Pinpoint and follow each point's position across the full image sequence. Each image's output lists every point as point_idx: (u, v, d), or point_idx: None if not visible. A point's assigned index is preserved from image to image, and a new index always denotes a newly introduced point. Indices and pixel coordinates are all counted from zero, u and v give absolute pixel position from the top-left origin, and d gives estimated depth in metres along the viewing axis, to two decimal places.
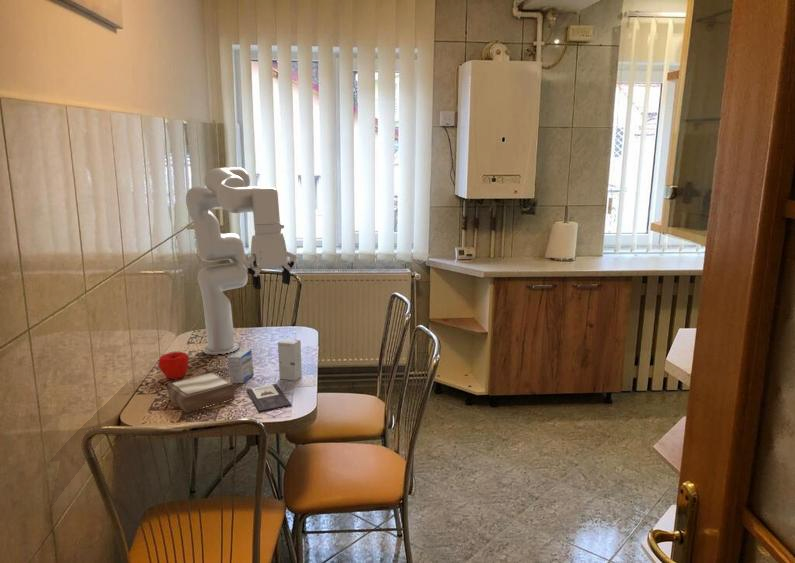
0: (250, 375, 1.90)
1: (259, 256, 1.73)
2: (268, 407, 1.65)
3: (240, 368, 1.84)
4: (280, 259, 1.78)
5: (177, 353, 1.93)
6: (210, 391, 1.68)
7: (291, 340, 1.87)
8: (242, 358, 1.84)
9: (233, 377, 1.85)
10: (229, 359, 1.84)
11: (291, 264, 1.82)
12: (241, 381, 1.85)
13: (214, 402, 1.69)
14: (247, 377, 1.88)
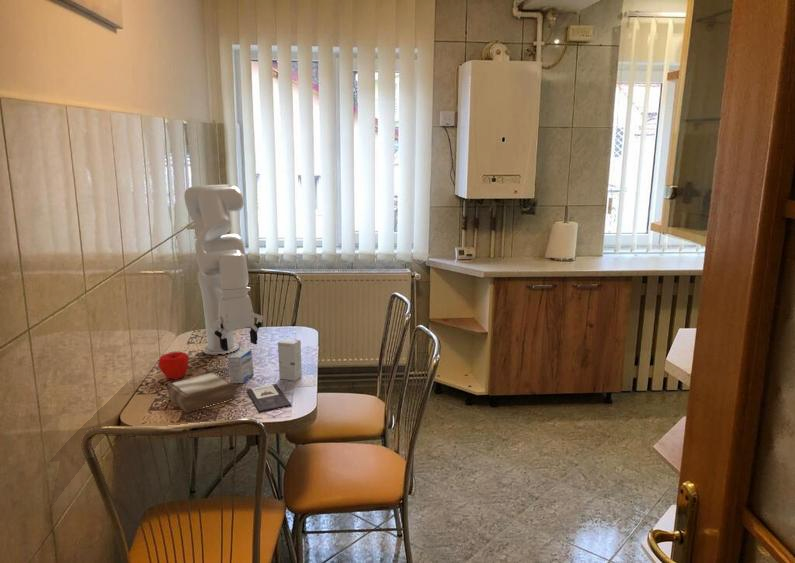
0: (250, 375, 1.90)
1: (226, 319, 1.80)
2: (268, 407, 1.65)
3: (240, 368, 1.84)
4: (247, 321, 1.84)
5: (177, 353, 1.93)
6: (210, 391, 1.68)
7: (291, 340, 1.87)
8: (242, 358, 1.84)
9: (233, 377, 1.85)
10: (229, 359, 1.84)
11: (258, 325, 1.89)
12: (241, 381, 1.85)
13: (214, 402, 1.69)
14: (247, 377, 1.88)
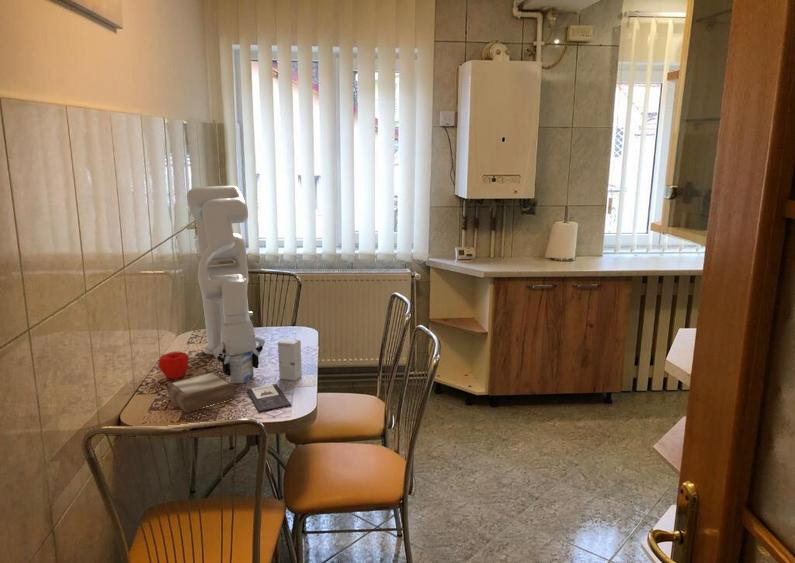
0: (250, 375, 1.90)
1: (228, 345, 1.82)
2: (268, 407, 1.65)
3: (240, 368, 1.84)
4: (249, 346, 1.86)
5: (177, 353, 1.93)
6: (210, 391, 1.68)
7: (291, 340, 1.87)
8: (242, 358, 1.84)
9: (233, 377, 1.85)
10: (229, 359, 1.84)
11: (259, 349, 1.91)
12: (241, 380, 1.85)
13: (214, 402, 1.69)
14: (247, 377, 1.87)
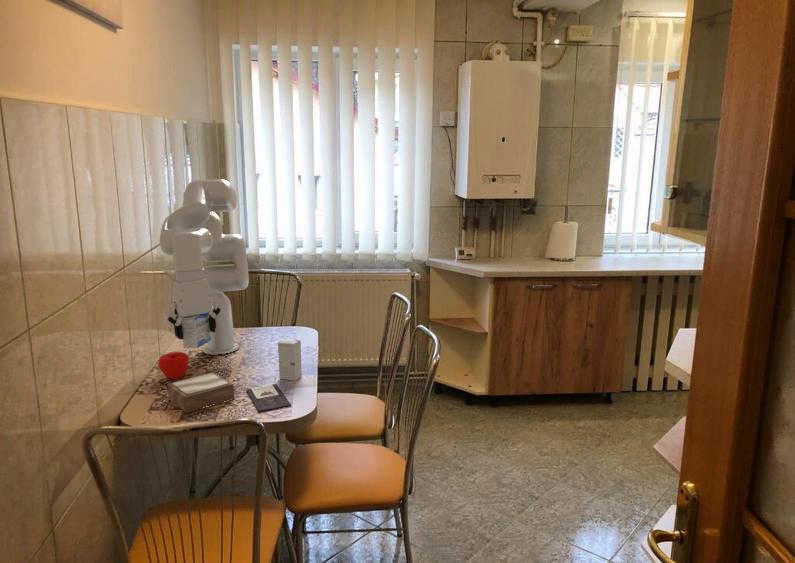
0: (206, 339, 1.72)
1: (180, 304, 1.64)
2: (268, 407, 1.65)
3: (194, 330, 1.66)
4: (204, 306, 1.68)
5: (177, 353, 1.93)
6: (210, 391, 1.68)
7: (291, 340, 1.87)
8: (196, 319, 1.66)
9: (186, 341, 1.67)
10: (182, 321, 1.66)
11: (217, 311, 1.72)
12: (195, 345, 1.66)
13: (214, 402, 1.69)
14: (203, 341, 1.69)
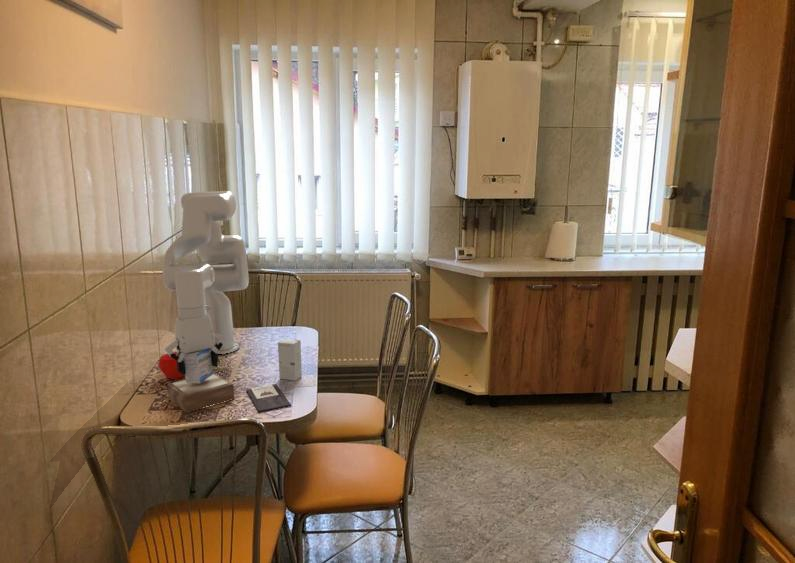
0: (209, 374, 1.73)
1: (182, 341, 1.66)
2: (268, 407, 1.65)
3: (196, 366, 1.67)
4: (206, 342, 1.70)
5: None
6: (210, 391, 1.68)
7: (291, 340, 1.87)
8: (198, 355, 1.68)
9: (188, 376, 1.68)
10: (184, 357, 1.67)
11: (219, 346, 1.74)
12: (197, 380, 1.68)
13: (214, 402, 1.69)
14: (205, 376, 1.71)
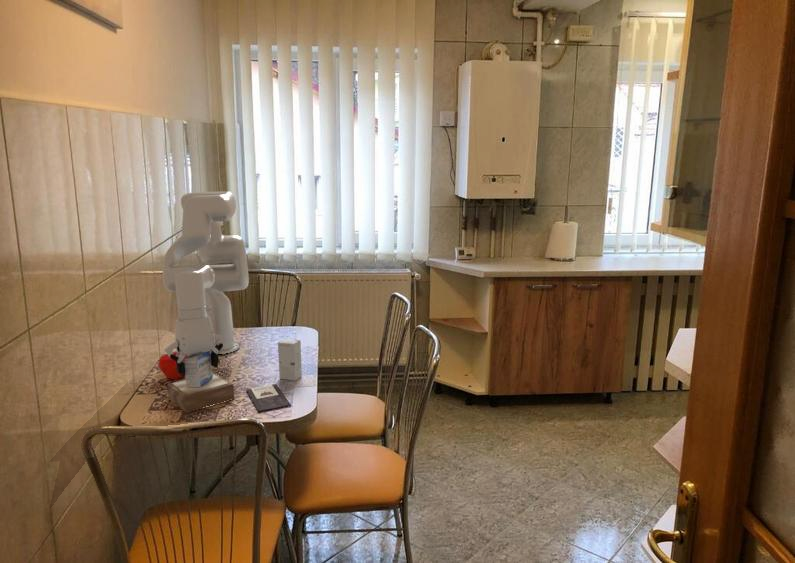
0: (209, 378, 1.74)
1: (182, 342, 1.66)
2: (268, 407, 1.65)
3: (197, 371, 1.68)
4: (206, 343, 1.70)
5: None
6: (210, 391, 1.68)
7: (291, 340, 1.87)
8: (199, 360, 1.68)
9: (189, 380, 1.69)
10: (185, 361, 1.68)
11: (219, 346, 1.74)
12: (198, 384, 1.68)
13: (214, 402, 1.69)
14: (205, 380, 1.72)
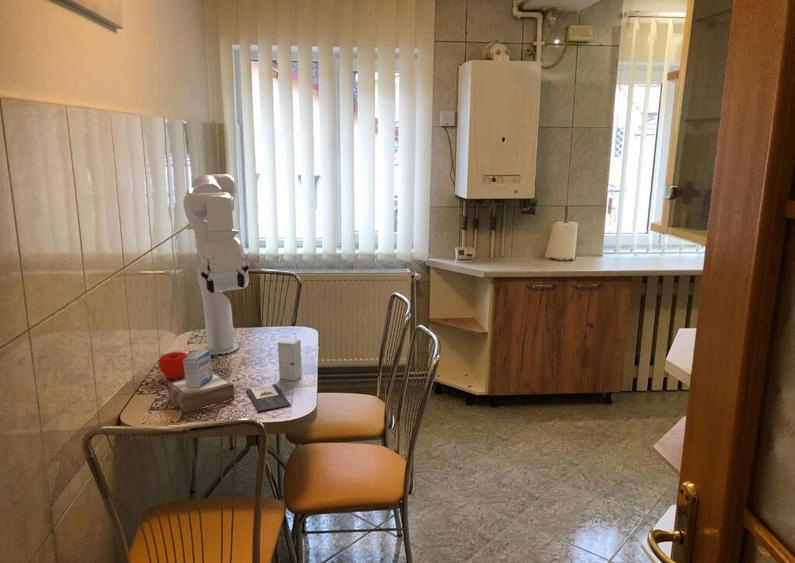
0: (209, 378, 1.74)
1: (212, 261, 1.81)
2: (268, 407, 1.65)
3: (197, 371, 1.68)
4: (234, 264, 1.85)
5: (177, 353, 1.93)
6: (210, 391, 1.68)
7: (291, 340, 1.87)
8: (199, 360, 1.68)
9: (189, 380, 1.69)
10: (185, 361, 1.68)
11: (245, 268, 1.89)
12: (198, 384, 1.68)
13: (214, 402, 1.69)
14: (205, 380, 1.71)
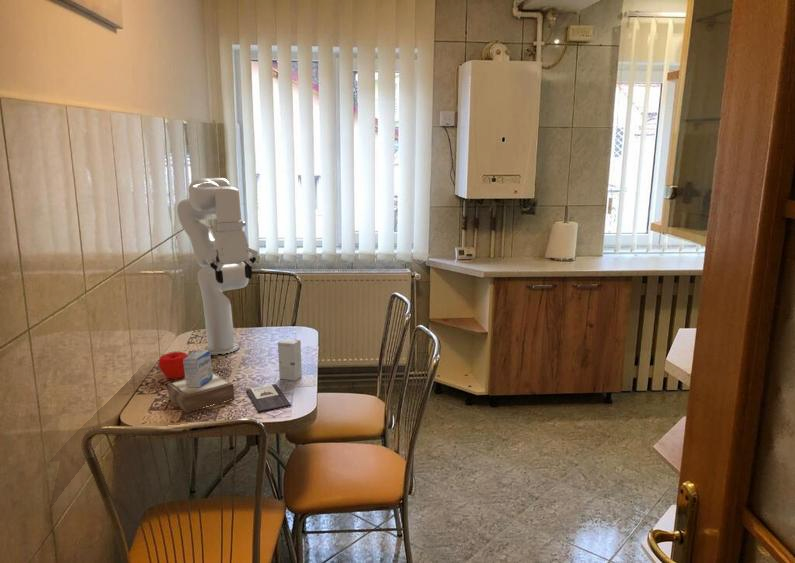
0: (209, 378, 1.74)
1: (221, 252, 1.85)
2: (268, 407, 1.65)
3: (197, 371, 1.68)
4: (242, 255, 1.89)
5: (177, 353, 1.93)
6: (210, 391, 1.68)
7: (291, 340, 1.87)
8: (199, 360, 1.68)
9: (189, 380, 1.69)
10: (185, 361, 1.68)
11: (253, 260, 1.94)
12: (198, 384, 1.68)
13: (214, 402, 1.69)
14: (205, 380, 1.71)
